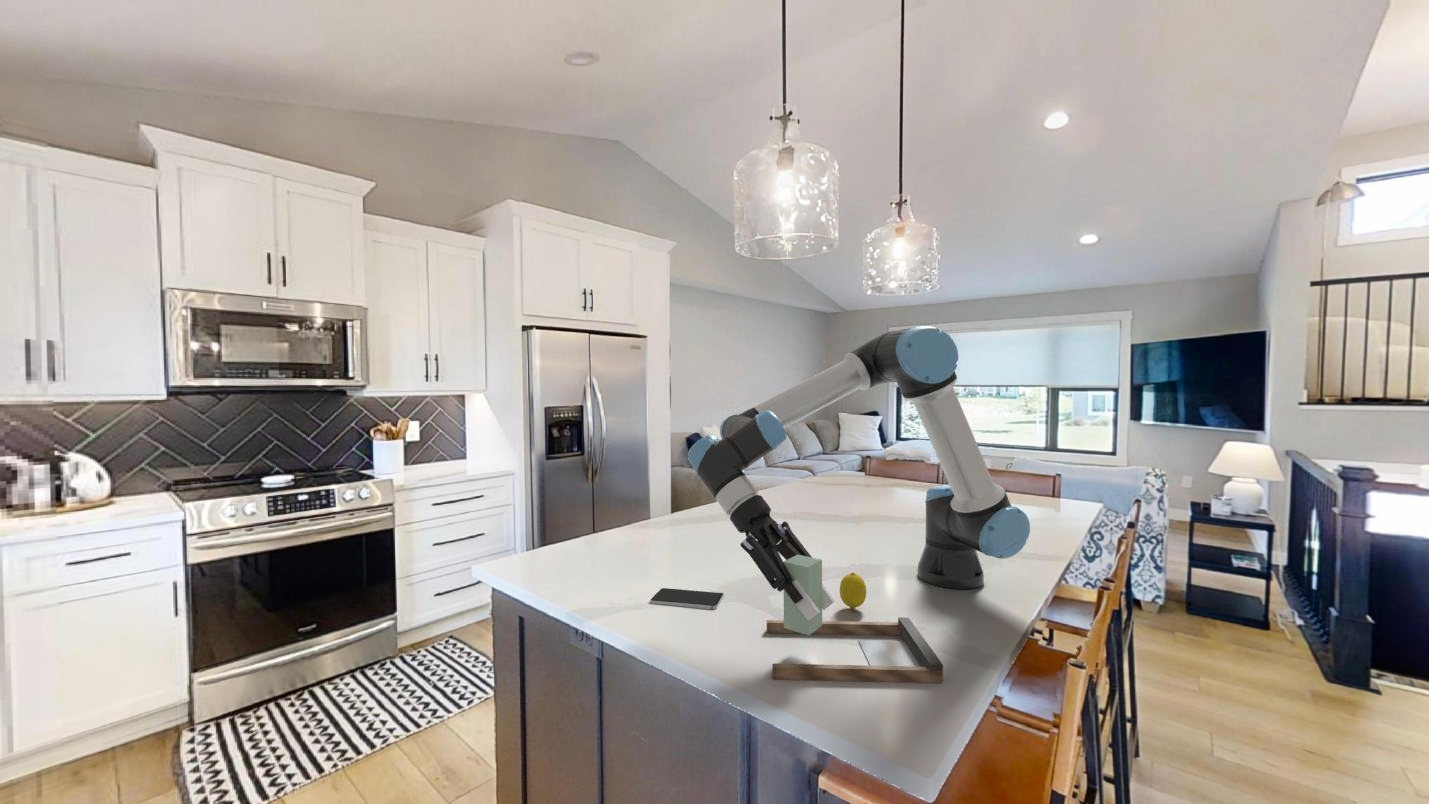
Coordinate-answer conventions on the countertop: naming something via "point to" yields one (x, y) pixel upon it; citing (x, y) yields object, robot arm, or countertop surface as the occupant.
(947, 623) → the countertop surface
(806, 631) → the block
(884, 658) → the track
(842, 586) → the lemon
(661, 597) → the smartphone
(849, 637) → the countertop surface
